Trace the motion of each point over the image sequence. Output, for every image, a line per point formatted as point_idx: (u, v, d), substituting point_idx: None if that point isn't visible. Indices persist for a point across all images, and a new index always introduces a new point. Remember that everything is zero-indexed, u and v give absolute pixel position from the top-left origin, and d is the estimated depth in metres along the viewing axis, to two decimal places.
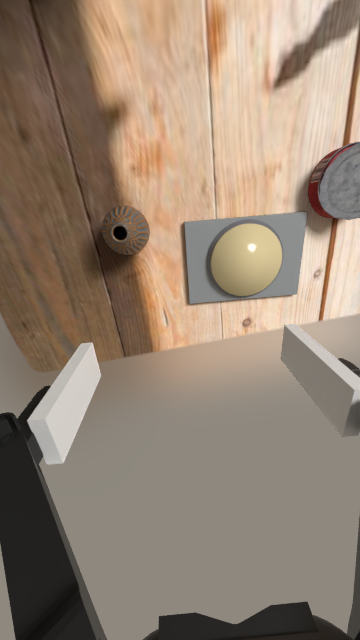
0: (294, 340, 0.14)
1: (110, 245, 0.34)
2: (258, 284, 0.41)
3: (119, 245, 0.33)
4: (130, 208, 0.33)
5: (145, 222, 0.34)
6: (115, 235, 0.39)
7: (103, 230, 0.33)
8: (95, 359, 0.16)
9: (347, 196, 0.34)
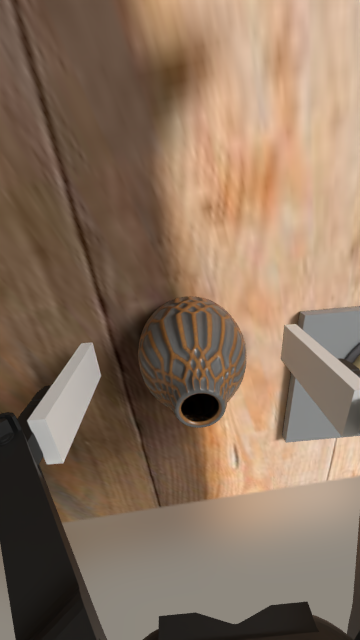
0: (294, 340, 0.14)
1: None
2: None
3: (189, 416, 0.13)
4: (213, 316, 0.13)
5: (243, 342, 0.14)
6: None
7: (145, 372, 0.13)
8: (95, 359, 0.16)
9: None
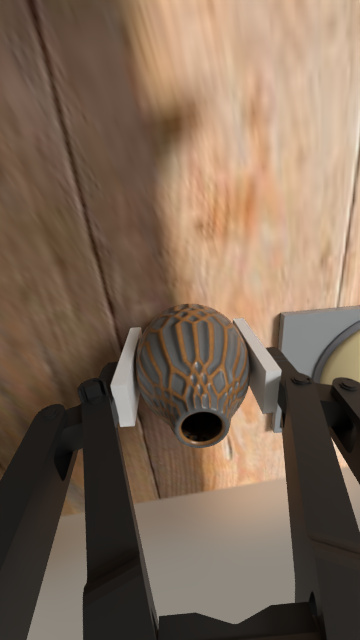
0: None
1: None
2: None
3: (189, 433, 0.12)
4: (215, 326, 0.12)
5: (247, 353, 0.13)
6: None
7: (143, 386, 0.12)
8: None
9: None
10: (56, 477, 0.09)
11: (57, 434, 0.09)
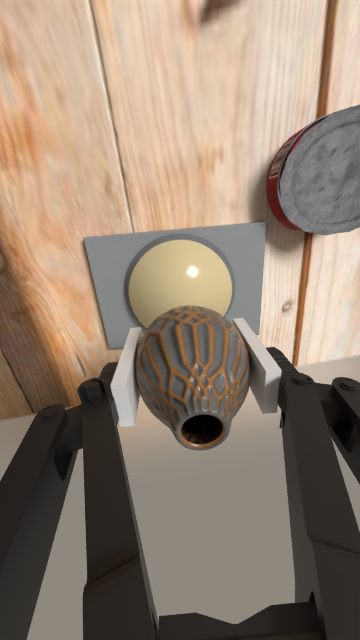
0: (238, 332, 0.16)
1: None
2: None
3: (189, 436, 0.12)
4: (215, 328, 0.12)
5: (247, 355, 0.13)
6: None
7: (143, 388, 0.12)
8: None
9: (322, 200, 0.22)
10: (56, 477, 0.09)
11: (57, 434, 0.09)
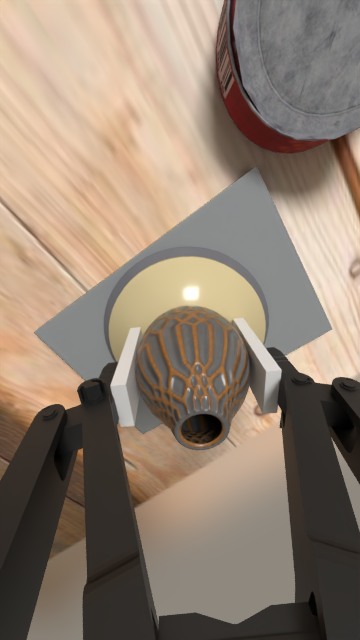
0: (238, 332, 0.16)
1: None
2: None
3: (189, 435, 0.12)
4: (215, 328, 0.12)
5: (247, 355, 0.13)
6: None
7: (143, 388, 0.12)
8: None
9: (343, 57, 0.11)
10: (56, 477, 0.09)
11: (57, 434, 0.09)
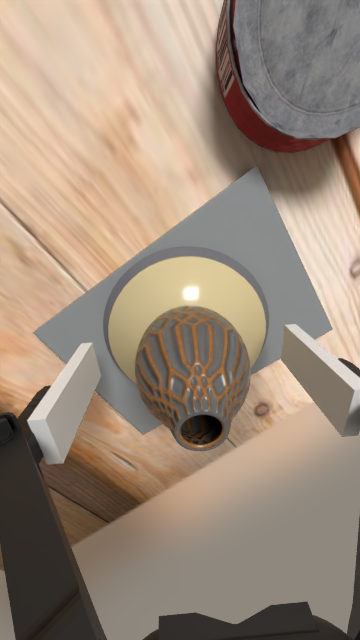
0: (294, 340, 0.14)
1: None
2: None
3: (189, 436, 0.12)
4: (215, 328, 0.12)
5: (247, 355, 0.13)
6: None
7: (142, 389, 0.12)
8: (95, 359, 0.16)
9: (344, 55, 0.10)
10: None
11: None
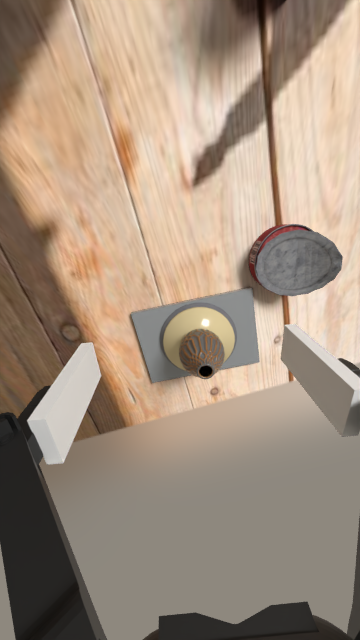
0: (294, 340, 0.14)
1: (185, 367, 0.34)
2: None
3: (197, 375, 0.33)
4: (217, 342, 0.34)
5: None
6: None
7: (186, 353, 0.33)
8: (95, 359, 0.16)
9: (285, 277, 0.34)
10: None
11: None
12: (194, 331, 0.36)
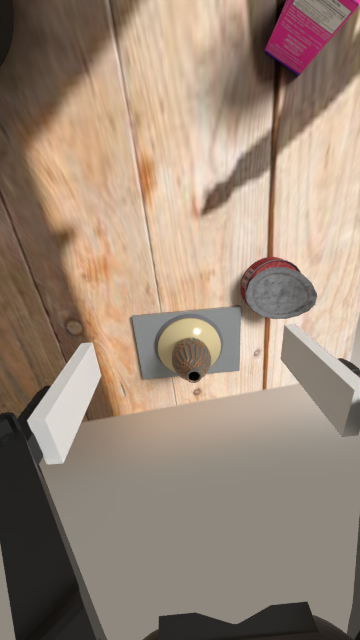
0: (294, 340, 0.14)
1: (176, 370, 0.39)
2: None
3: (185, 378, 0.38)
4: (206, 351, 0.39)
5: (210, 364, 0.41)
6: None
7: (178, 359, 0.38)
8: (95, 359, 0.16)
9: (270, 302, 0.40)
10: None
11: None
12: (187, 339, 0.41)
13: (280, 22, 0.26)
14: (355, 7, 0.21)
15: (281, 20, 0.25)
